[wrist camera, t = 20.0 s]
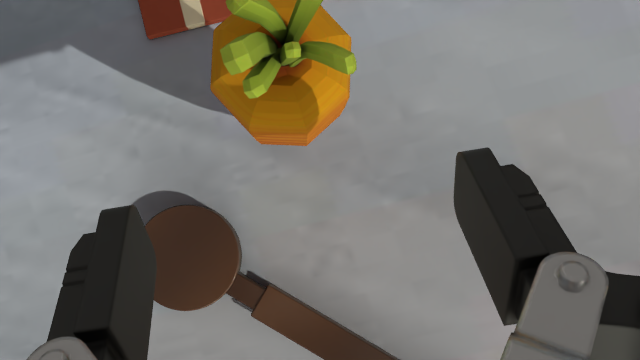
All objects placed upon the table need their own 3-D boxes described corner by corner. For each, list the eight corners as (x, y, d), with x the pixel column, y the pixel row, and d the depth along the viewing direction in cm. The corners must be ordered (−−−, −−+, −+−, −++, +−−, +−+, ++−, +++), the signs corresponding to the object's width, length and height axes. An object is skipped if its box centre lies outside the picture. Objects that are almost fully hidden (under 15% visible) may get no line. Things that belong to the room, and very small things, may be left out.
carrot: (320, 56, 30) (330, -114, 15) (354, 148, 29) (401, 69, 14) (227, 90, 29) (142, -49, 14) (261, 182, 29) (210, 138, 14)
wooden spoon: (505, 382, 29) (512, 388, 27) (455, 474, 28) (461, 484, 27) (174, 187, 29) (168, 185, 28) (120, 274, 29) (113, 276, 28)
